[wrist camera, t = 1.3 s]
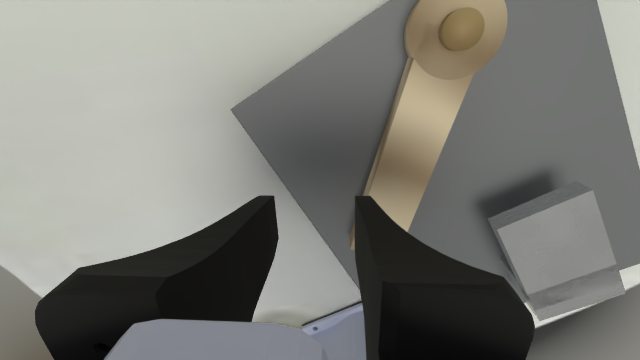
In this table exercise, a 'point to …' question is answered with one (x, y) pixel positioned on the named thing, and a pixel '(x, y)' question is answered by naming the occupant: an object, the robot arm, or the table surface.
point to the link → (430, 96)
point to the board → (458, 131)
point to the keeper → (558, 251)
